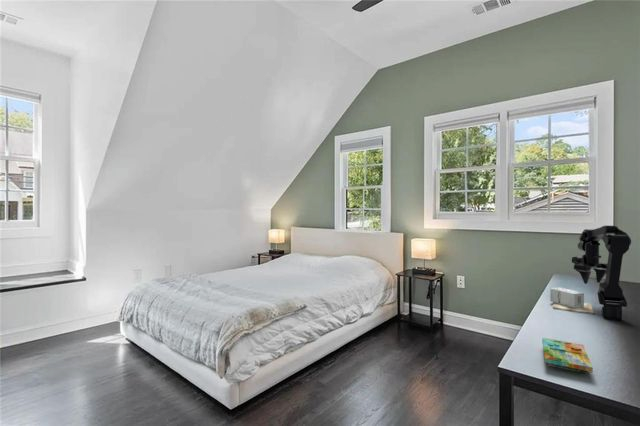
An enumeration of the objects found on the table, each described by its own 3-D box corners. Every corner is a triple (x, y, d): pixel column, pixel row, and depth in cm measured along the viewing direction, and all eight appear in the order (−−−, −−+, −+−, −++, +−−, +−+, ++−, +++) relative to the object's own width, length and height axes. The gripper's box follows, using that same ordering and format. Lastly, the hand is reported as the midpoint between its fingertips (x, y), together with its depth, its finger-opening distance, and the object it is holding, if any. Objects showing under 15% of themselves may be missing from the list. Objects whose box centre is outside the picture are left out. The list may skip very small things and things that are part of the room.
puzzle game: (583, 342, 114) (592, 365, 97) (583, 355, 114) (592, 380, 97) (542, 335, 120) (544, 355, 103) (542, 348, 120) (544, 370, 103)
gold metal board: (590, 305, 173) (590, 303, 173) (593, 314, 158) (593, 312, 158) (553, 300, 182) (553, 299, 182) (552, 308, 168) (552, 306, 168)
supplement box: (573, 308, 165) (549, 301, 177) (584, 307, 167) (560, 300, 179) (573, 293, 165) (549, 288, 177) (584, 292, 167) (560, 287, 179)
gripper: (588, 250, 182) (588, 279, 182) (563, 252, 177) (563, 281, 177) (611, 253, 171) (611, 283, 171) (585, 254, 166) (585, 285, 166)
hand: (592, 283), depth 172 cm, fingers open, 9 cm apart
